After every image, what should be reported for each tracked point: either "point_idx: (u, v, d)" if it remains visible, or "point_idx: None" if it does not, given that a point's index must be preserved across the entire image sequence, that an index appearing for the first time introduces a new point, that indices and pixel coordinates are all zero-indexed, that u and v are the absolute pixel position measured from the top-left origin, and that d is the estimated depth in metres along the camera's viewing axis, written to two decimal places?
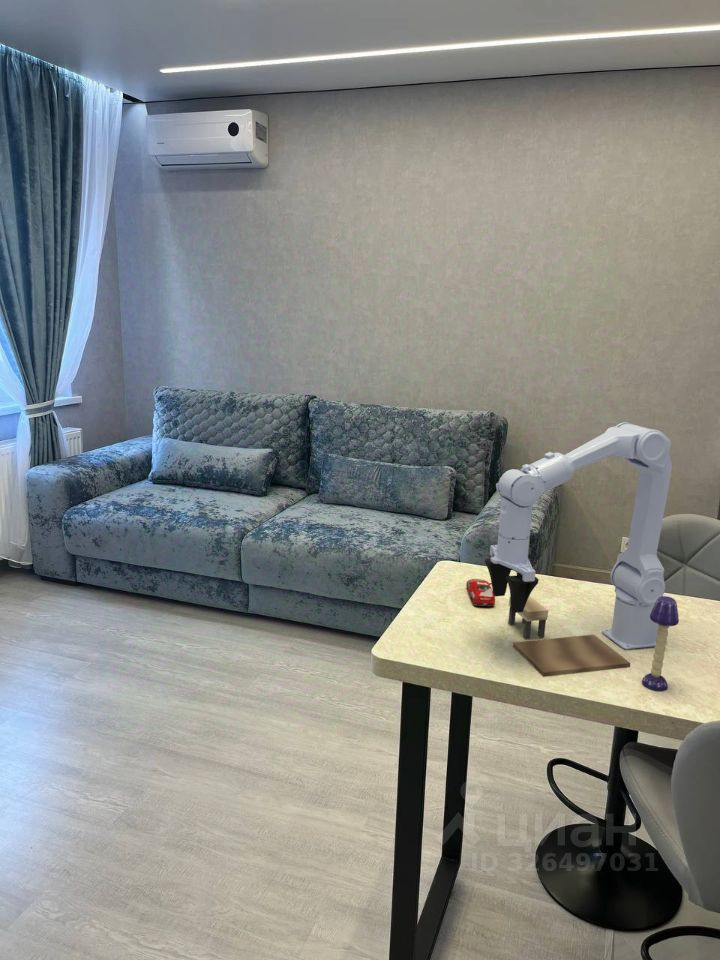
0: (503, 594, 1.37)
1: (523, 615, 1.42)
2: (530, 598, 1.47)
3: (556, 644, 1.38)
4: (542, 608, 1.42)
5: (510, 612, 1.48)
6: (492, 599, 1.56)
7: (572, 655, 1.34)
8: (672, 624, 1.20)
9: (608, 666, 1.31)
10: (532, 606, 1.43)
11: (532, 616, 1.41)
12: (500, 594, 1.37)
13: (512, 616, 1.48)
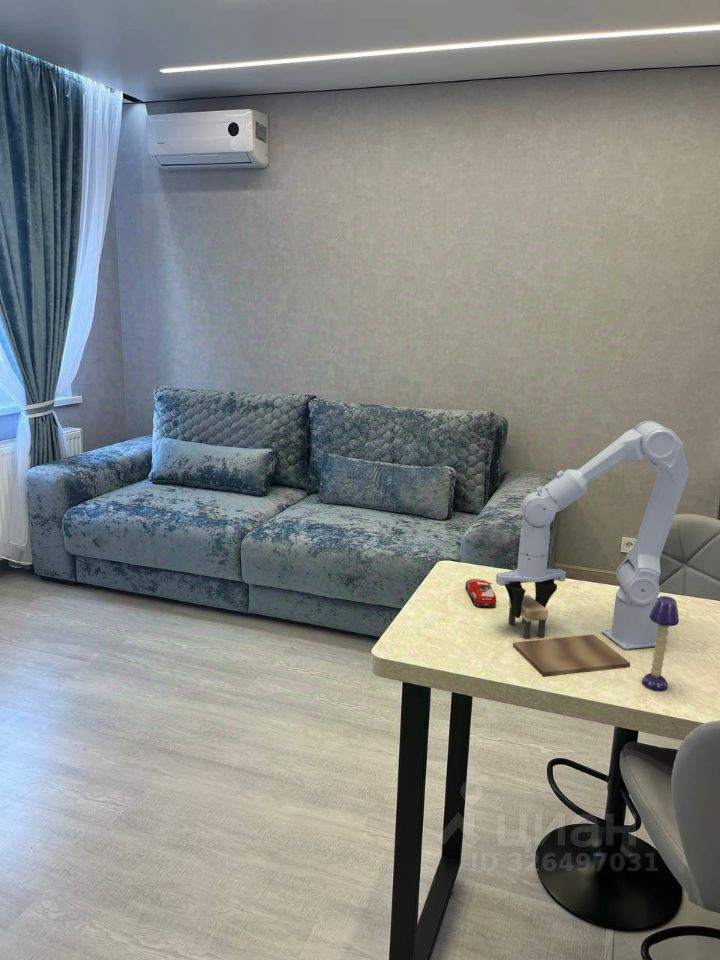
0: None
1: (523, 615, 1.42)
2: (530, 598, 1.47)
3: (556, 644, 1.38)
4: (542, 608, 1.42)
5: (510, 612, 1.48)
6: (494, 599, 1.56)
7: (572, 655, 1.34)
8: (672, 624, 1.20)
9: (608, 666, 1.31)
10: (532, 606, 1.43)
11: (532, 616, 1.41)
12: None
13: (512, 616, 1.48)
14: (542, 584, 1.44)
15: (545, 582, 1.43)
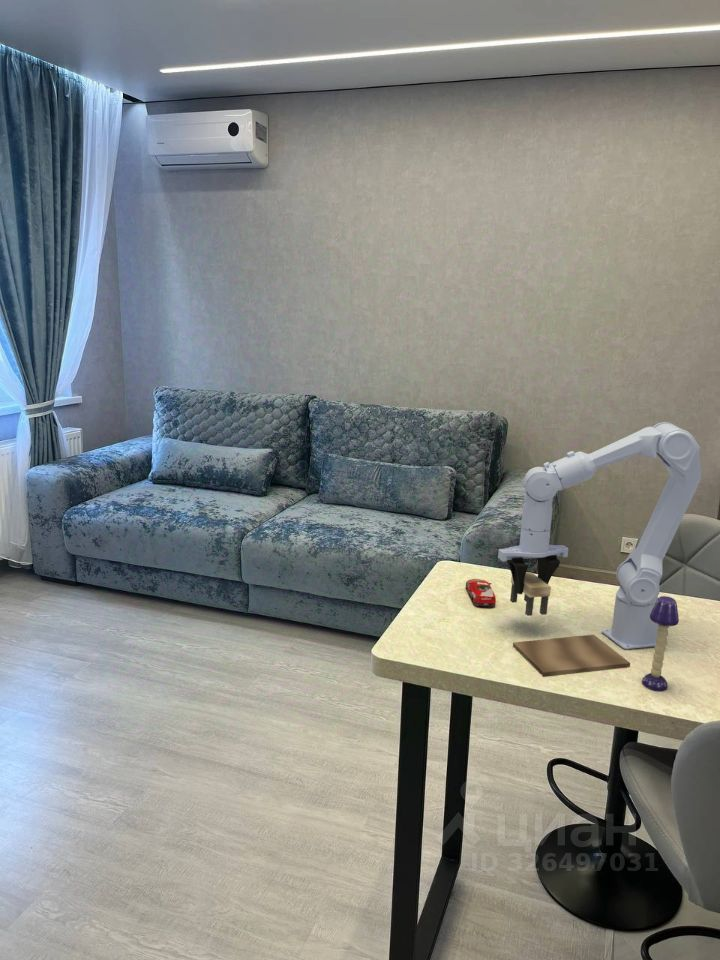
0: None
1: (525, 591, 1.41)
2: (533, 575, 1.46)
3: (556, 644, 1.38)
4: (545, 584, 1.41)
5: (512, 589, 1.47)
6: (493, 599, 1.56)
7: (572, 655, 1.34)
8: (672, 624, 1.20)
9: (608, 666, 1.31)
10: (535, 582, 1.42)
11: (534, 592, 1.39)
12: None
13: (515, 594, 1.46)
14: (545, 560, 1.42)
15: (548, 558, 1.42)
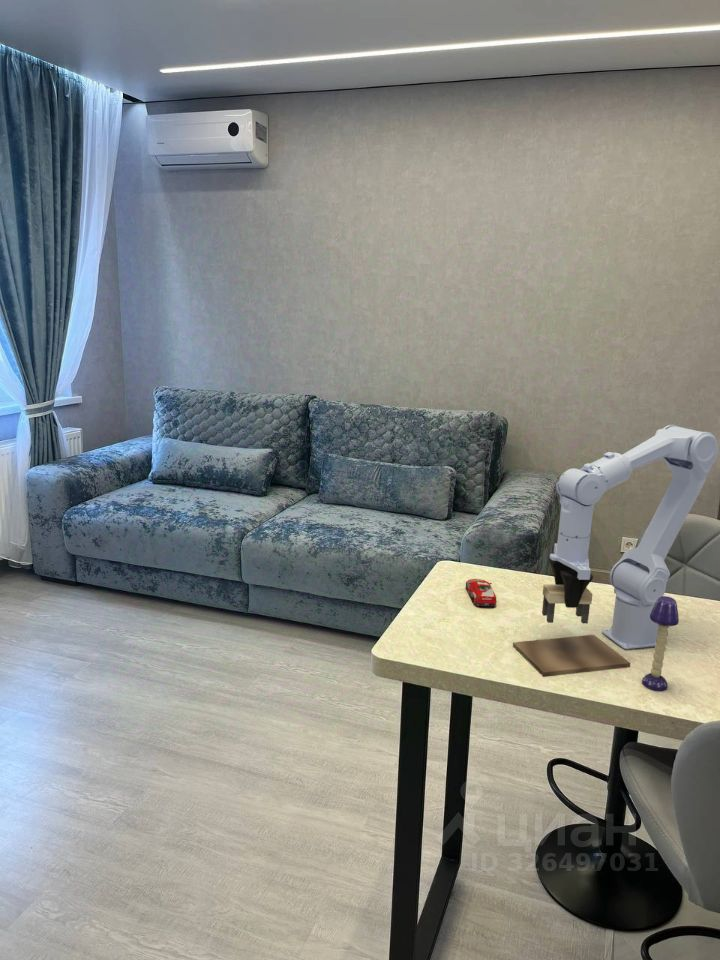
0: None
1: (583, 601, 1.32)
2: (553, 585, 1.36)
3: (556, 644, 1.38)
4: None
5: (552, 609, 1.33)
6: (494, 599, 1.56)
7: (572, 655, 1.34)
8: (672, 624, 1.20)
9: (608, 666, 1.31)
10: None
11: None
12: None
13: None
14: None
15: None
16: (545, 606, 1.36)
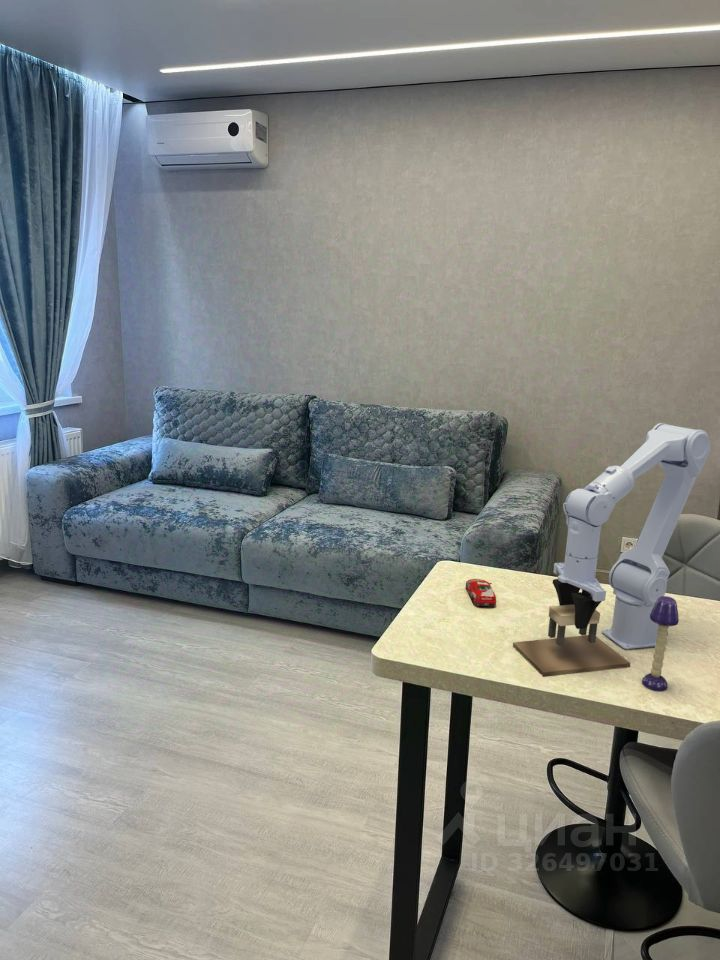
0: None
1: (592, 620, 1.32)
2: (559, 607, 1.34)
3: (556, 644, 1.38)
4: None
5: (562, 632, 1.31)
6: (493, 599, 1.56)
7: (572, 655, 1.34)
8: (672, 624, 1.20)
9: (608, 666, 1.31)
10: None
11: None
12: None
13: None
14: None
15: None
16: (552, 628, 1.34)
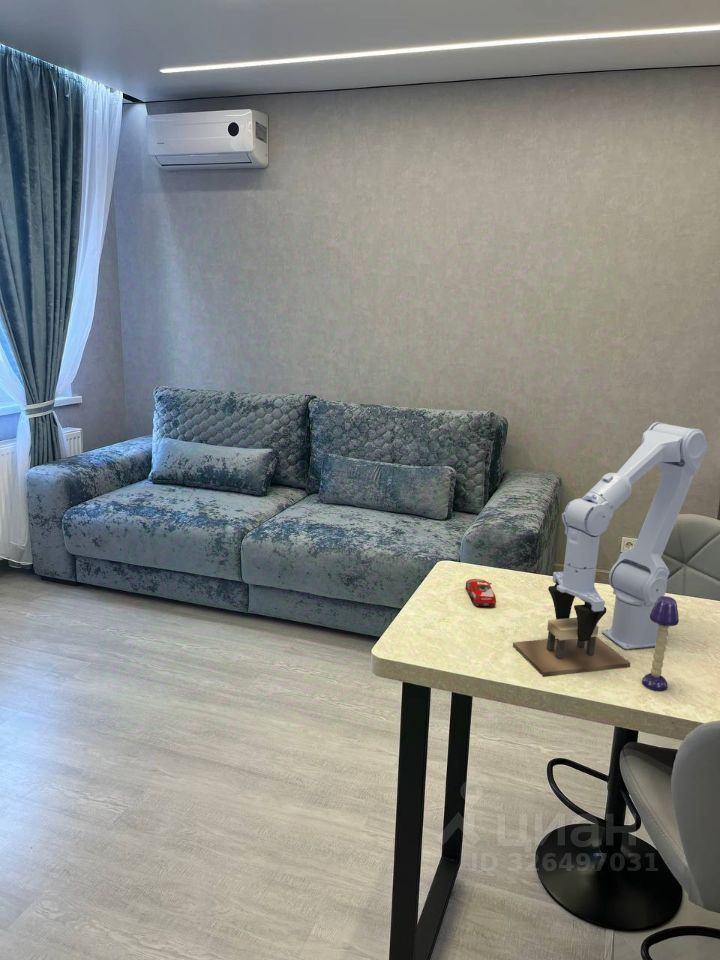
0: None
1: None
2: (558, 620, 1.35)
3: (556, 644, 1.38)
4: None
5: (562, 646, 1.32)
6: (493, 599, 1.56)
7: (572, 655, 1.34)
8: (672, 624, 1.20)
9: (608, 666, 1.31)
10: None
11: None
12: None
13: None
14: None
15: None
16: (551, 642, 1.35)
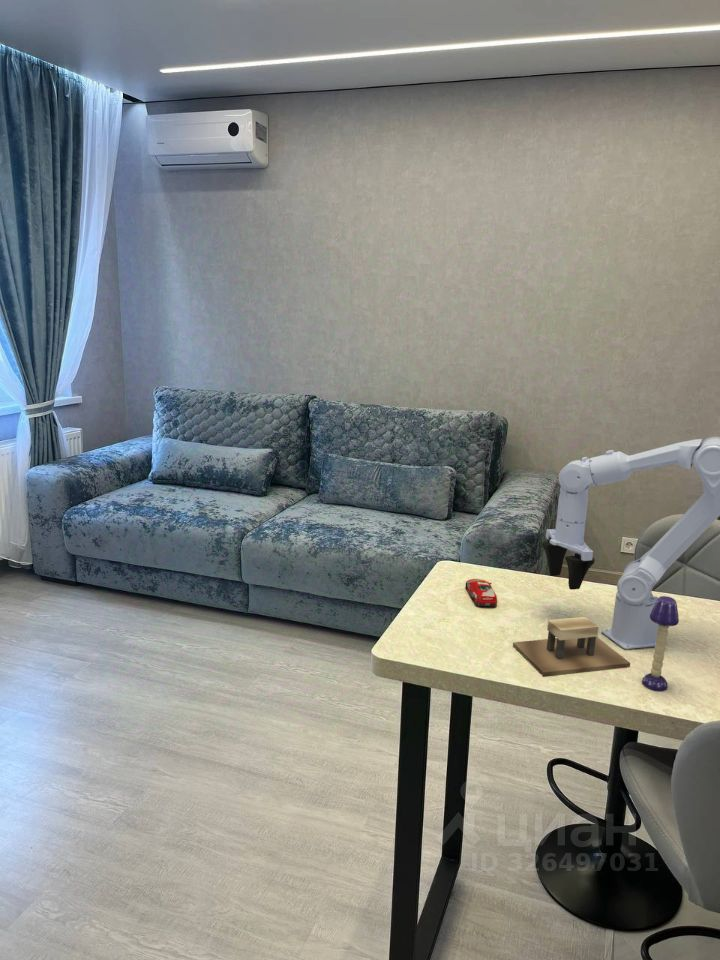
0: (558, 574, 1.51)
1: (590, 634, 1.33)
2: (558, 620, 1.35)
3: (556, 644, 1.38)
4: (581, 618, 1.36)
5: (562, 646, 1.32)
6: (494, 599, 1.56)
7: (572, 655, 1.34)
8: (672, 624, 1.20)
9: (608, 666, 1.31)
10: (580, 622, 1.34)
11: None
12: (556, 574, 1.51)
13: None
14: None
15: None
16: (551, 642, 1.35)
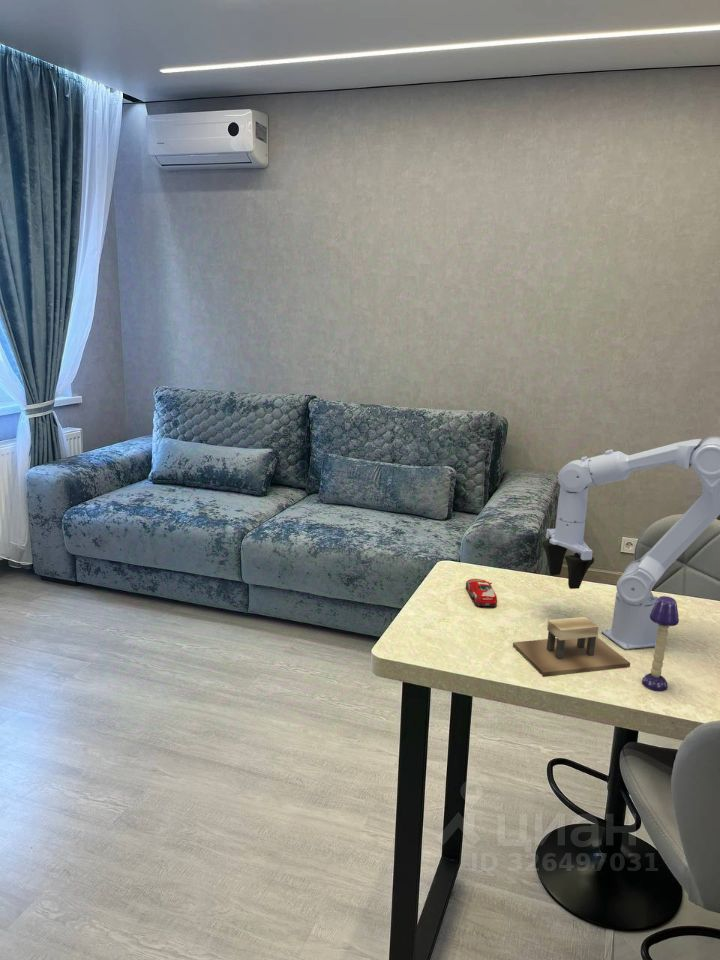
0: (558, 573, 1.51)
1: (590, 634, 1.33)
2: (558, 620, 1.35)
3: (556, 644, 1.38)
4: (581, 618, 1.36)
5: (562, 646, 1.32)
6: (494, 599, 1.56)
7: (572, 655, 1.34)
8: (672, 624, 1.20)
9: (608, 666, 1.31)
10: (580, 622, 1.34)
11: None
12: (556, 573, 1.51)
13: None
14: None
15: None
16: (551, 642, 1.35)
